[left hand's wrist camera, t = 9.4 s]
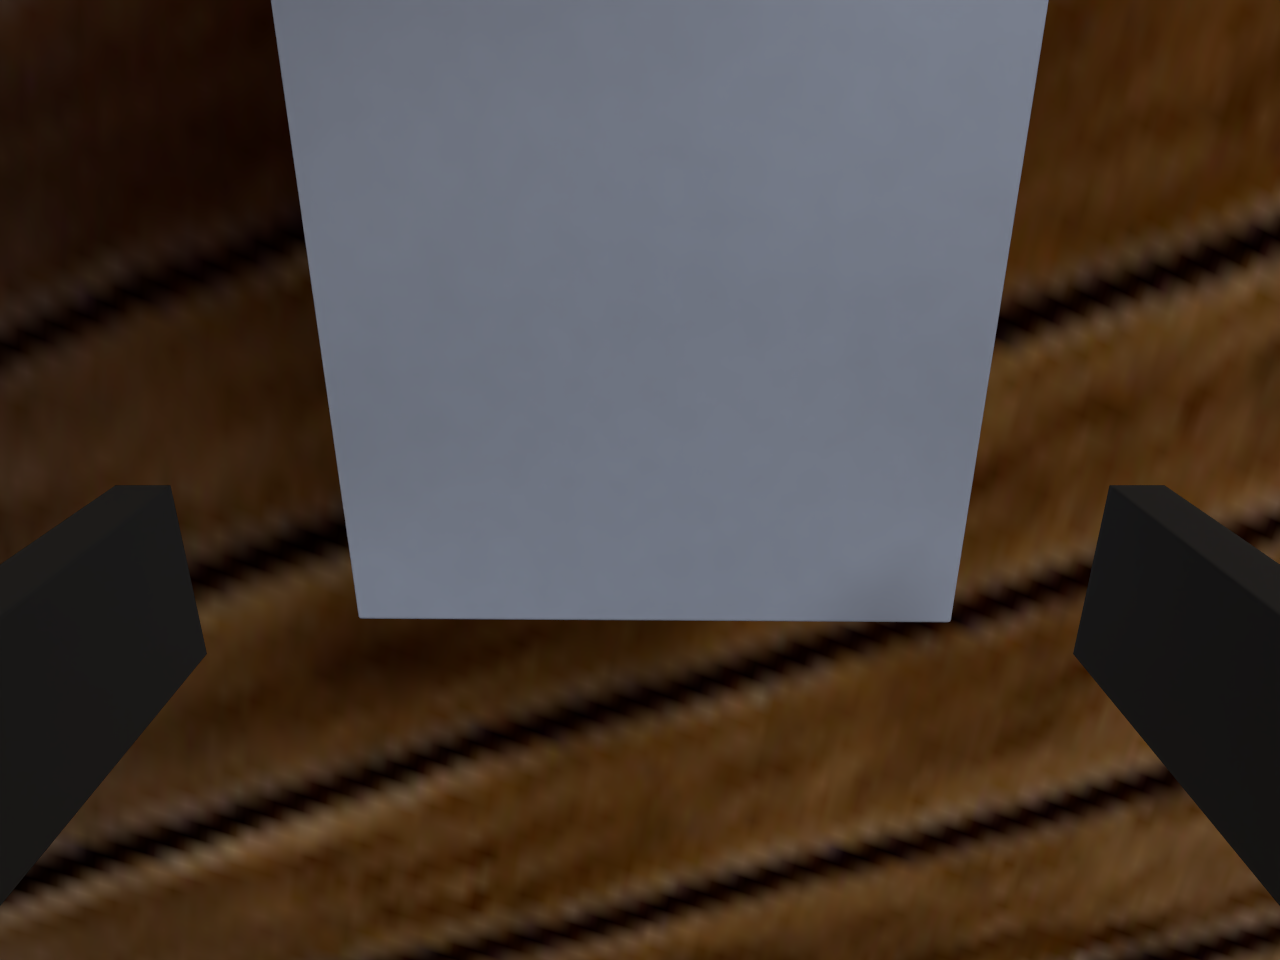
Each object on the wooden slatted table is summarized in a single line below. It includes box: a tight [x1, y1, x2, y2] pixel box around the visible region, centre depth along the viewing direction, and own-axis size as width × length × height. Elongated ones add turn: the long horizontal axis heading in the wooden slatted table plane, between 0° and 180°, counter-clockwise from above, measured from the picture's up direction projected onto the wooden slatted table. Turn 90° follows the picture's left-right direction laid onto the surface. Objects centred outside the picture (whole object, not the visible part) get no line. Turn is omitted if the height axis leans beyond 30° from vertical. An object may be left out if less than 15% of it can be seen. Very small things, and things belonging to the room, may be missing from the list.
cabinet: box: [271, 0, 1048, 622], centre depth 17 cm, size 18×11×9 cm, turn 0°
